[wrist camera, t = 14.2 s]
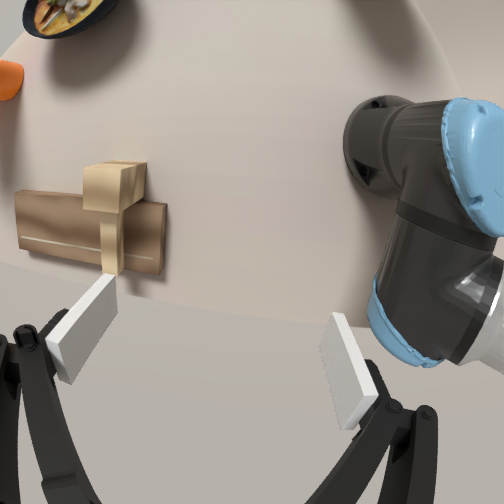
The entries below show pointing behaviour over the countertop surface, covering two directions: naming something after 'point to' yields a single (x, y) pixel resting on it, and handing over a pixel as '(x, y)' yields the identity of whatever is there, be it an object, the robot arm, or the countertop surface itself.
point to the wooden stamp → (112, 204)
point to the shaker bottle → (10, 79)
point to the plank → (88, 229)
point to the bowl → (63, 16)
